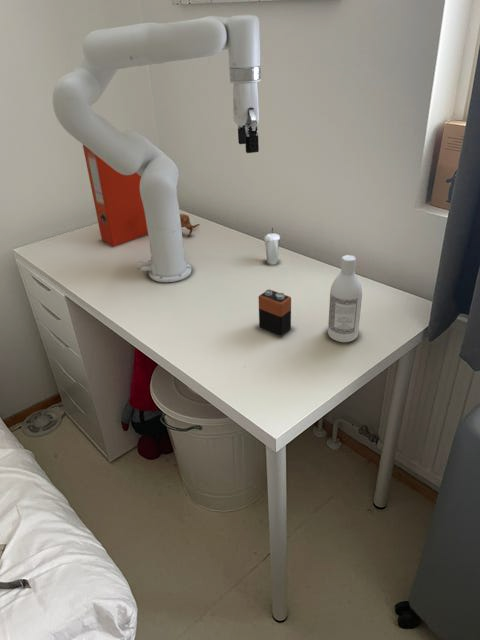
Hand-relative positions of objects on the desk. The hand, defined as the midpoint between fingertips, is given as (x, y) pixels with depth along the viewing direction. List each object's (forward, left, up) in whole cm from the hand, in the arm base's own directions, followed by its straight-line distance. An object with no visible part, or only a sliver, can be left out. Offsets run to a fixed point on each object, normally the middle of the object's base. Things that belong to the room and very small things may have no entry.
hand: (248, 147), depth 130 cm
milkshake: (+7, +3, -35) cm, 36 cm away
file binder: (-37, +35, -35) cm, 62 cm away
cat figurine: (-19, +30, -35) cm, 50 cm away
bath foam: (+15, -39, -35) cm, 54 cm away
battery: (0, -33, -35) cm, 48 cm away
